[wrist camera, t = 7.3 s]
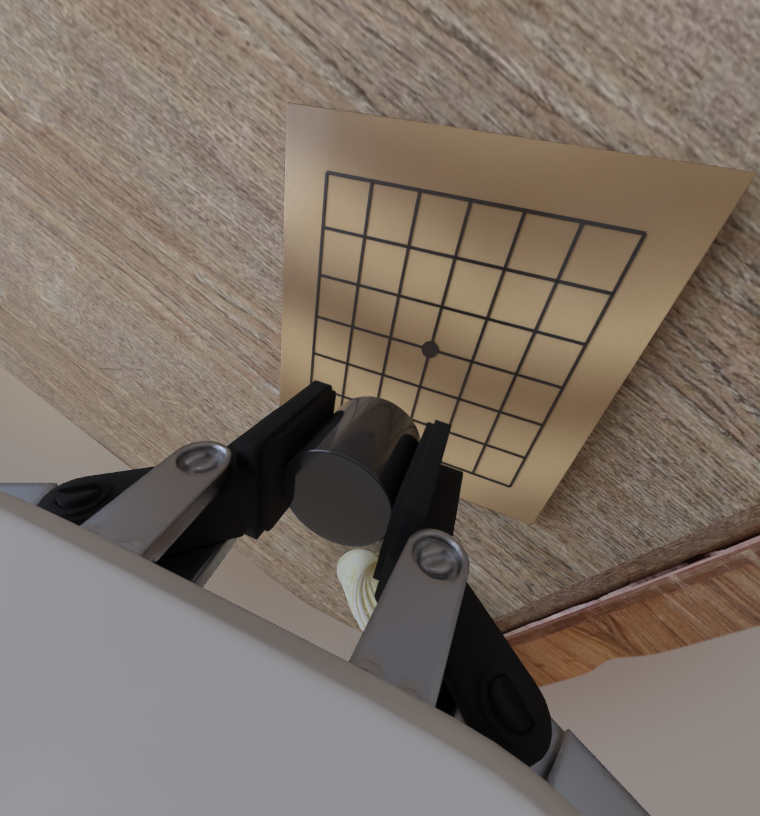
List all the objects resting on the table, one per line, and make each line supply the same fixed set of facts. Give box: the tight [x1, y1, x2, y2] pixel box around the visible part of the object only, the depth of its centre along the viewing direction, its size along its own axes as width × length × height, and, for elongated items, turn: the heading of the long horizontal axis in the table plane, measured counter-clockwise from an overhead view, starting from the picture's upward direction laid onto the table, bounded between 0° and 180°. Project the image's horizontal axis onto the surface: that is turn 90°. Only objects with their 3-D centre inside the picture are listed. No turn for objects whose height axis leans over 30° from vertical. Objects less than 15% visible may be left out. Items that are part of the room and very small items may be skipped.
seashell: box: [337, 549, 380, 631], centre depth 29 cm, size 8×8×8 cm
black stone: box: [282, 396, 420, 547], centre depth 10 cm, size 3×3×3 cm
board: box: [280, 102, 756, 525], centre depth 20 cm, size 20×20×2 cm
